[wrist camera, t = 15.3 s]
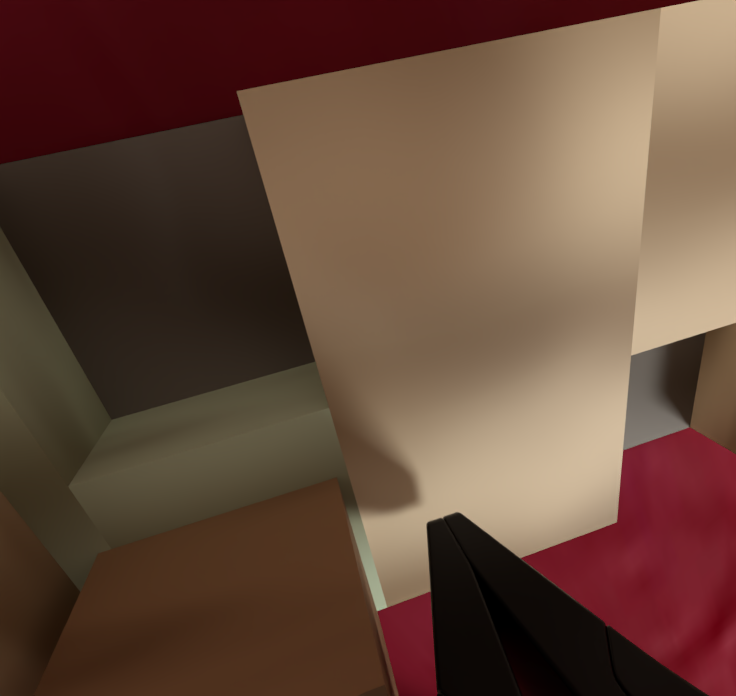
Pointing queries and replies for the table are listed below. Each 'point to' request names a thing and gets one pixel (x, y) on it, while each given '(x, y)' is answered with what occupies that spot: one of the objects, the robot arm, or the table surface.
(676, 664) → the table surface
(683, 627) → the table surface
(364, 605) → the walnut block
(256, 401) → the trap deck
